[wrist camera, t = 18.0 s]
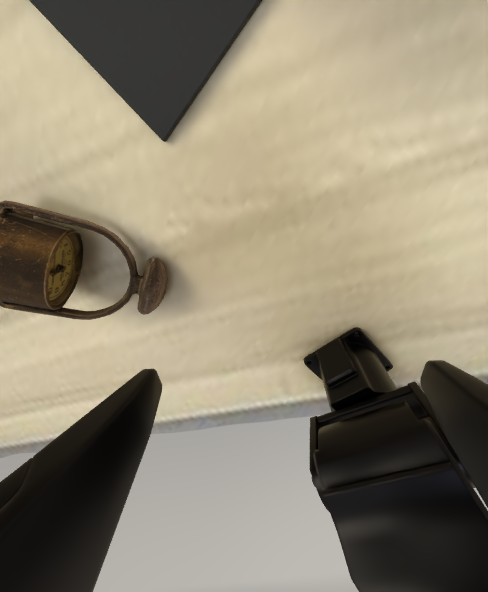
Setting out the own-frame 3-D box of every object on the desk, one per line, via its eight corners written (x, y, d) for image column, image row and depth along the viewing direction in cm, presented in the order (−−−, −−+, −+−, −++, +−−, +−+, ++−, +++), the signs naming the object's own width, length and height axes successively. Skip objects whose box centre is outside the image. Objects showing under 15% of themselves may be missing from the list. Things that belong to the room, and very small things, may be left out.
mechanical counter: (-45, 138, 12) (-112, 279, 14) (156, 295, 14) (73, 398, 16) (61, 172, 19) (6, 263, 21) (185, 274, 21) (124, 348, 23)
